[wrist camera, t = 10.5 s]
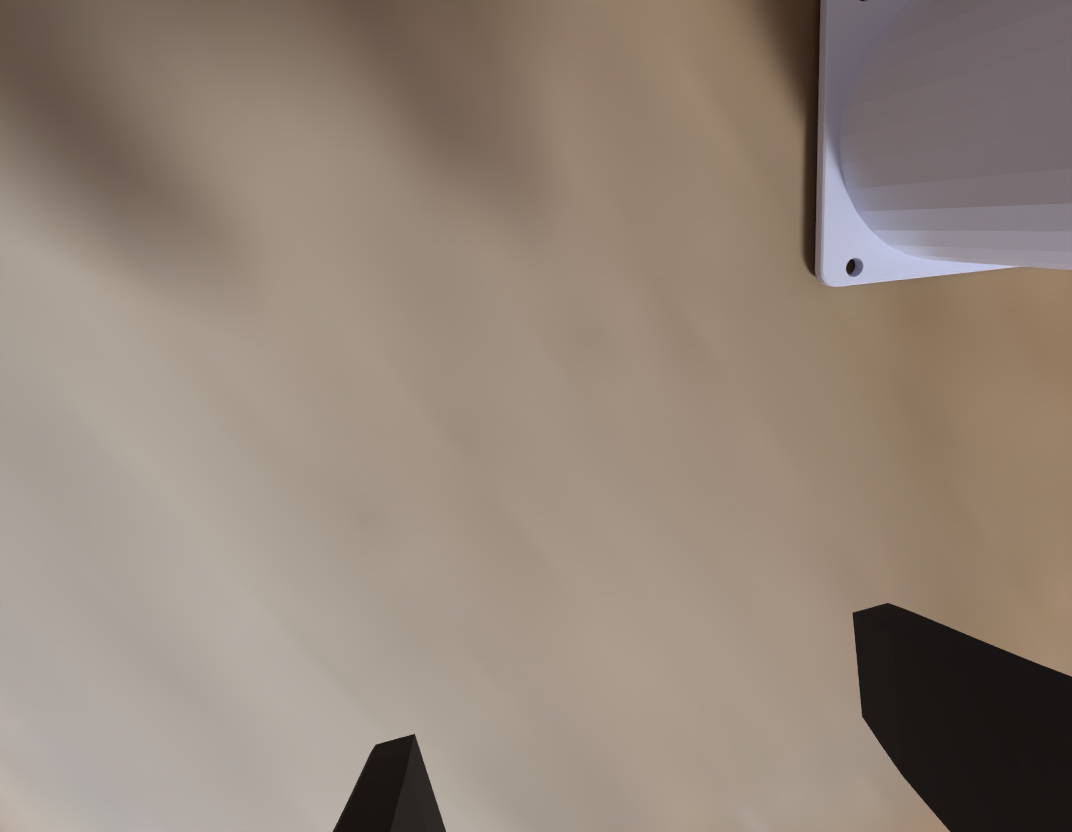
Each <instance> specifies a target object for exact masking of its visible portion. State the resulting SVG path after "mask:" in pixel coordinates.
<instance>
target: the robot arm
mask: <svg viewBox="0 0 1072 832" xmlns="http://www.w3.org/2000/svg"><path fill="white" fill-rule="evenodd" d="M850 259H853V260H854V261H855V269H854V271H853V272H852V274H850V275H848V274H847V272H846V265H847V263H848V262H849V261H850ZM1021 266H1022V267H1037V268H1051V269H1066V270H1072V0H864V1H859V0H821V5H820V53H819V102H818V150H817V199H816V247H815V273H816V277H817V279H818V280H819V282H820V283H822V284H824V285H826V286H834V287H839V286H848V285H857V284H866V283H875V282H884V281H893V280H902V279H912V278H921V277H930V276H939V275H948V274H957V273H966V272H975V271H984V270H993V269H1002V268H1012V267H1021ZM853 622H854V633H855V643H856V654H857V665H858V676H859V687H860V697H861V708H862V717H863V718H864V720H865V721H866V723H867V724H868V726H869V727H870V729H871V730H872V732H873V733H874V735H875V737H876V738H877V740H878V741H879V743H880V744H881V746H882V747H883V749H884V750H885V751H886V753H887V754H888V756H889V757H890V759H891V760H892V761H893V763H894V764H895V766H896V767H897V769H898V770H899V771H900V773H901V774H902V776H903V777H904V778H905V779H906V780H907V782H908V783H909V784H910V785H911V786H912V788H913V789H914V790H915V791H916V792H917V793H918V795H919V796H920V797H921V798H922V799H923V800H924V802H925V803H926V804H927V805H928V806H929V807H930V809H931V810H932V811H933V812H934V813H935V814H936V816H937V817H938V818H939V819H940V820H941V821H942V823H943V824H944V825H945V826H946V827H947V828H948V830H949V831H950V832H1072V677H1071V676H1068V675H1066V674H1063V673H1061V672H1058V671H1055V670H1053V669H1050V668H1047V667H1045V666H1042V665H1040V664H1037V663H1035V662H1032V661H1030V660H1027V659H1025V658H1022V657H1020V656H1017V655H1015V654H1012V653H1010V652H1007V651H1005V650H1002V649H1000V648H997V647H995V646H993V645H990V644H988V643H985V642H983V641H981V640H978V639H976V638H973V637H971V636H969V635H966V634H964V633H961V632H959V631H957V630H954V629H952V628H950V627H947V626H945V625H942V624H940V623H938V622H935V621H933V620H930V619H928V618H926V617H923V616H921V615H918V614H916V613H913V612H911V611H908V610H906V609H903V608H900V607H898V606H895V605H892V604H889V603H886V604H883V605H879V606H875V607H872V608H868V609H865V610H861V611H857V612H854V613H853ZM333 832H446V830H445V827H444V824H443V821H442V818H441V814H440V811H439V808H438V805H437V802H436V799H435V796H434V793H433V790H432V786H431V783H430V780H429V777H428V774H427V771H426V768H425V765H424V761H423V758H422V755H421V752H420V749H419V746H418V743H417V740H416V736H415V734H413V735H409V736H406V737H402V738H398V739H395V740H391V741H387V742H384V743H380V744H377V745H375V747H374V748H373V750H372V751H371V753H370V755H369V757H368V759H367V762H366V764H365V766H364V768H363V770H362V772H361V774H360V777H359V779H358V781H357V783H356V785H355V787H354V789H353V791H352V794H351V796H350V798H349V800H348V802H347V804H346V806H345V808H344V810H343V812H342V814H341V816H340V818H339V820H338V822H337V824H336V826H335V828H334V830H333Z"/></svg>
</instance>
